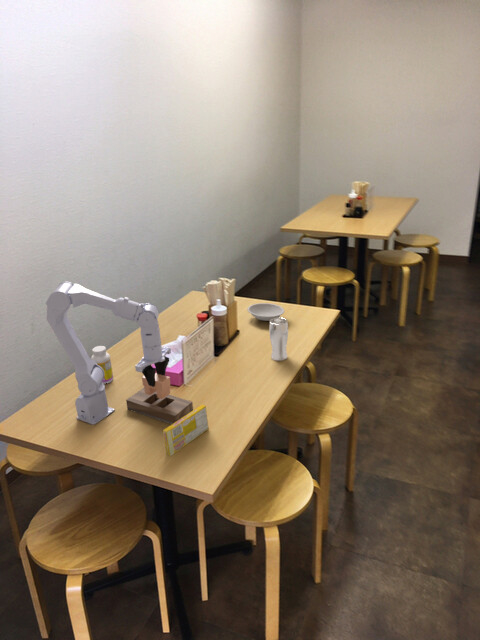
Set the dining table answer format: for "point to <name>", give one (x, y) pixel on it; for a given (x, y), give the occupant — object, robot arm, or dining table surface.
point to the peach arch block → (158, 386)
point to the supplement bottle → (103, 362)
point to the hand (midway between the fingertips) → (156, 382)
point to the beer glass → (278, 338)
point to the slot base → (159, 406)
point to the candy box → (185, 430)
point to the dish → (265, 311)
